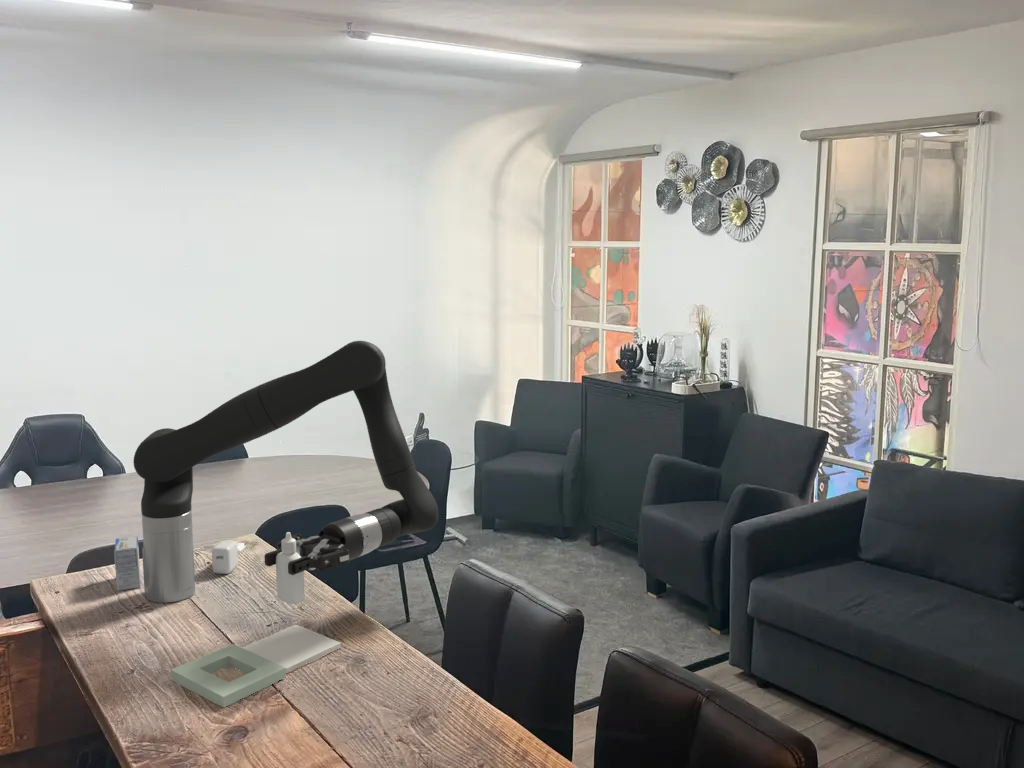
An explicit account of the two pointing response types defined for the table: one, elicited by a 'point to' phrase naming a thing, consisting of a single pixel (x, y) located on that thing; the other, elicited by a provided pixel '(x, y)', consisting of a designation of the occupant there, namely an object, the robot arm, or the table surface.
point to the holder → (227, 693)
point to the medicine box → (127, 563)
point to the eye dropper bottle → (287, 584)
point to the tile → (293, 647)
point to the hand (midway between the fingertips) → (277, 564)
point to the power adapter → (226, 556)
